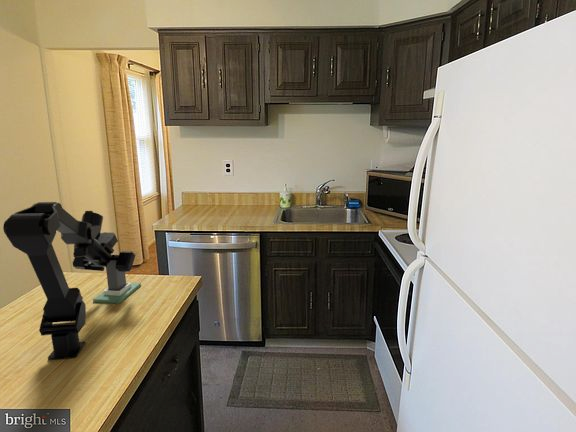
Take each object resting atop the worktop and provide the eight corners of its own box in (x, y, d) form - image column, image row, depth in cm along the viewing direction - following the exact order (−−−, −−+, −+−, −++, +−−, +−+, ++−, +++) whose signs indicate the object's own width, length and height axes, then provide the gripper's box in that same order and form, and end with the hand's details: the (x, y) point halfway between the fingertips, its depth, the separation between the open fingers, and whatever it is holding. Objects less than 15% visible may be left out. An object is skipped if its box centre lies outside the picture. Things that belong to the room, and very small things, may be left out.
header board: (119, 303, 116) (118, 296, 115) (93, 301, 116) (92, 294, 116) (140, 285, 129) (140, 279, 128) (117, 284, 130) (116, 277, 129)
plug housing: (118, 294, 120) (115, 260, 117) (108, 293, 120) (105, 260, 118) (126, 287, 125) (123, 255, 122) (117, 287, 125) (113, 255, 122)
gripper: (129, 228, 111) (149, 250, 124) (73, 225, 113) (99, 248, 126) (118, 260, 105) (139, 280, 118) (59, 257, 107) (87, 277, 120)
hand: (116, 270), depth 121 cm, fingers open, 9 cm apart
